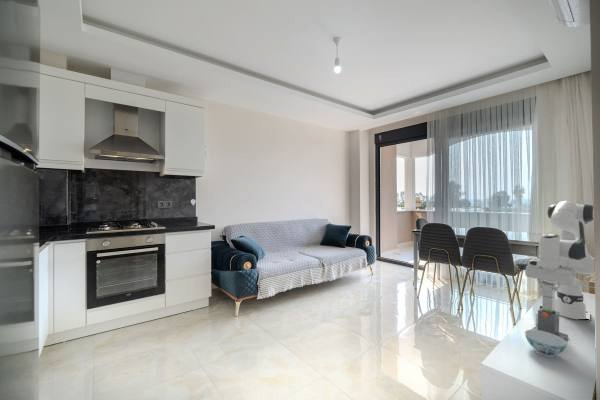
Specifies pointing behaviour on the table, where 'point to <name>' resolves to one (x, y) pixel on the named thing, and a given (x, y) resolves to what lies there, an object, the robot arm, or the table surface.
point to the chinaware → (545, 342)
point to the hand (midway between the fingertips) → (548, 289)
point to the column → (548, 297)
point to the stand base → (549, 323)
